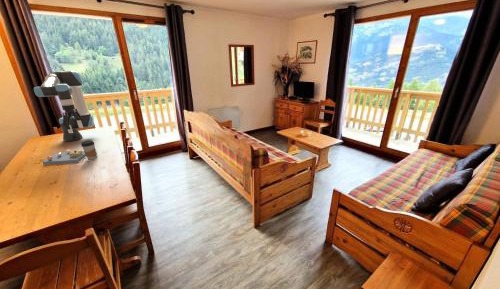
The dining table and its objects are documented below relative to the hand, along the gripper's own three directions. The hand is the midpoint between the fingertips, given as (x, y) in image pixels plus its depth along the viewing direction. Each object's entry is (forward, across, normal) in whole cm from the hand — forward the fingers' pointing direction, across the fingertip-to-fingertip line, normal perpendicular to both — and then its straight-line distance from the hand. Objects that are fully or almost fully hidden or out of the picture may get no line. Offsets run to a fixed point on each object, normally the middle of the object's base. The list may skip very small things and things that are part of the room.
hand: (76, 130), depth 172 cm
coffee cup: (+21, +13, +14) cm, 28 cm away
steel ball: (+17, +10, -11) cm, 23 cm away
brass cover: (+18, +10, +1) cm, 21 cm away
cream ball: (+17, +4, -8) cm, 19 cm away
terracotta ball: (+17, +16, -14) cm, 27 cm away
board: (+21, +10, -6) cm, 24 cm away
